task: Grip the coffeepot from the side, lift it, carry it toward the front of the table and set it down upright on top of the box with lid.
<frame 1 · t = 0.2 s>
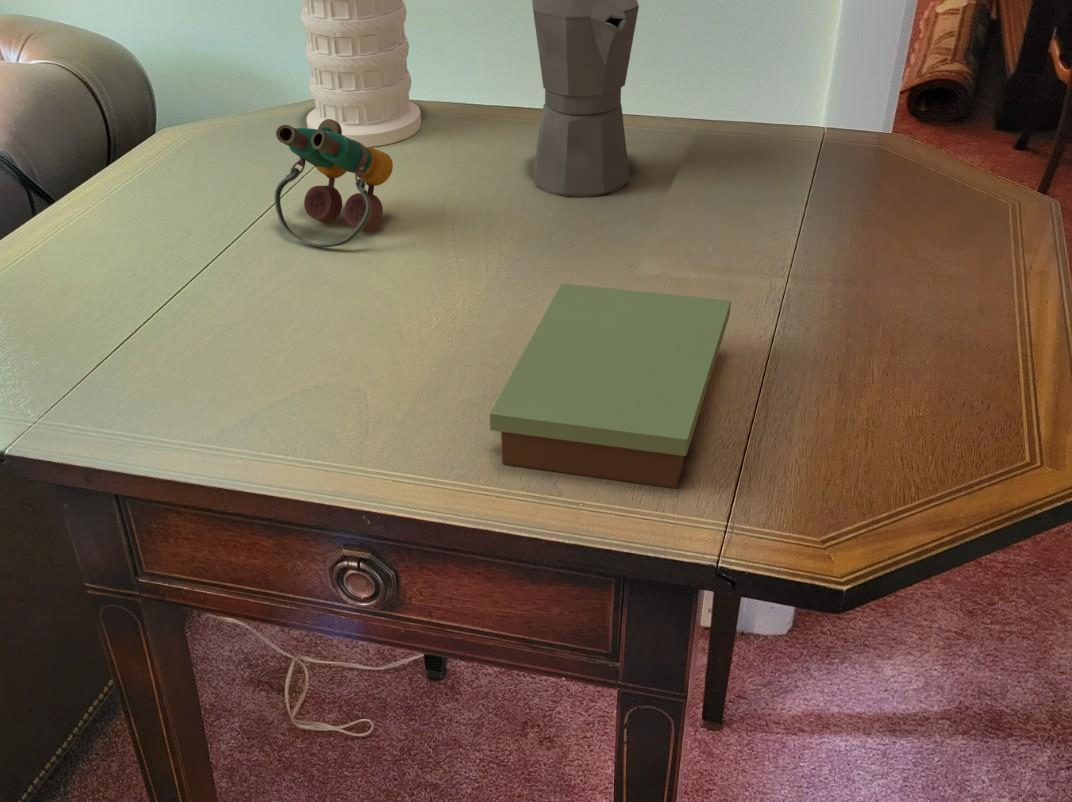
decorative container: (364, 129, 124), on the table
box with lid: (615, 406, 81), on the table
coffeepot: (576, 176, 112), on the table
binoculars: (341, 231, 105), on the table
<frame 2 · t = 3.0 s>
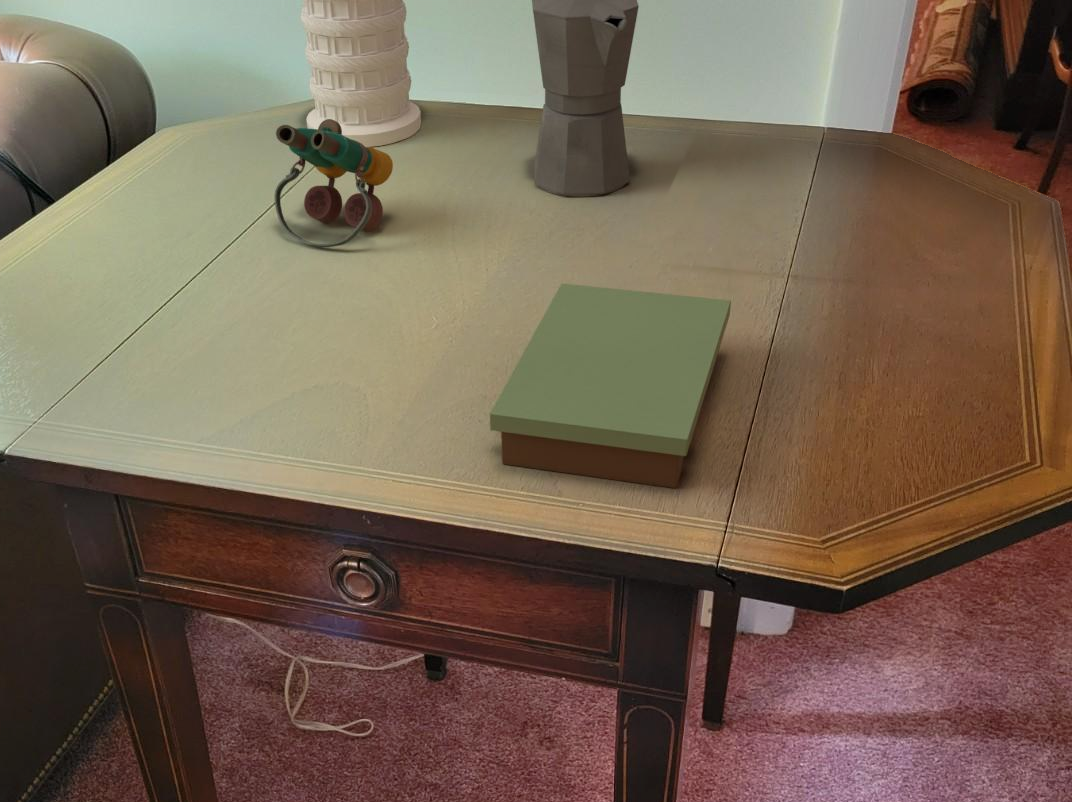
nothing on the table moved.
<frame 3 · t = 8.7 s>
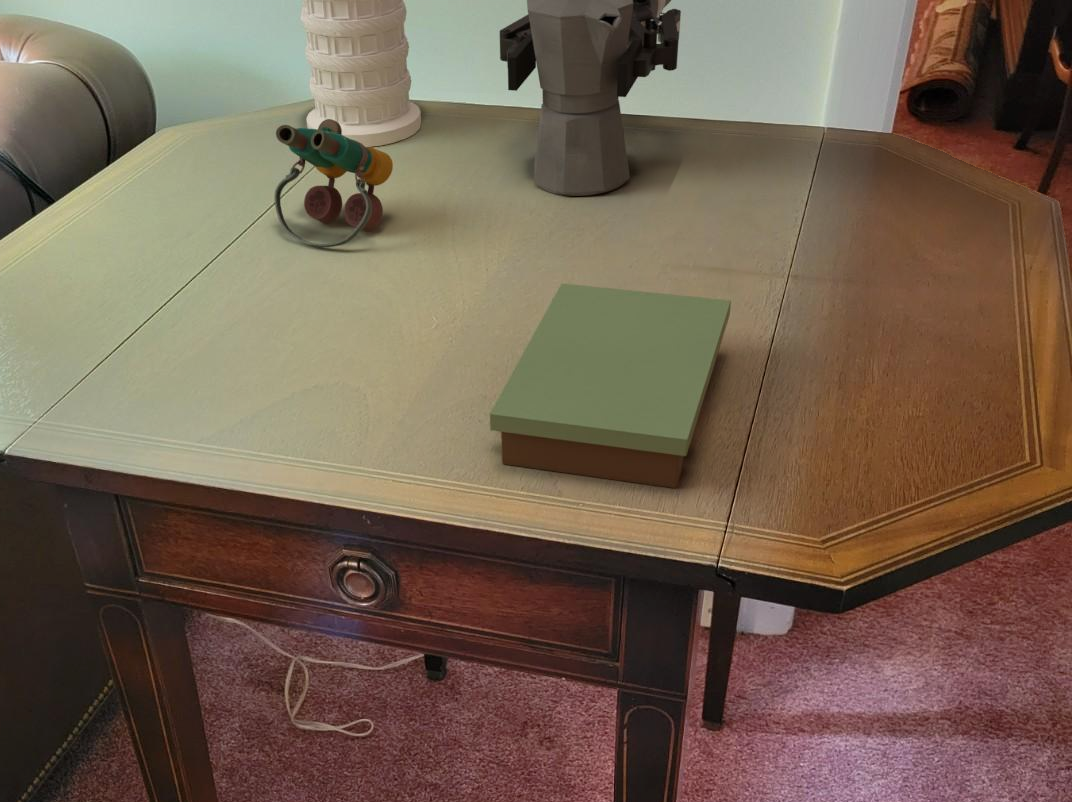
hand: (566, 77, 102), 10 cm above the table, tool horizontal, fingers closed on coffeepot, 9 cm apart
coffeepot: (576, 175, 112), on the table, touching gripper
everything else where it was.
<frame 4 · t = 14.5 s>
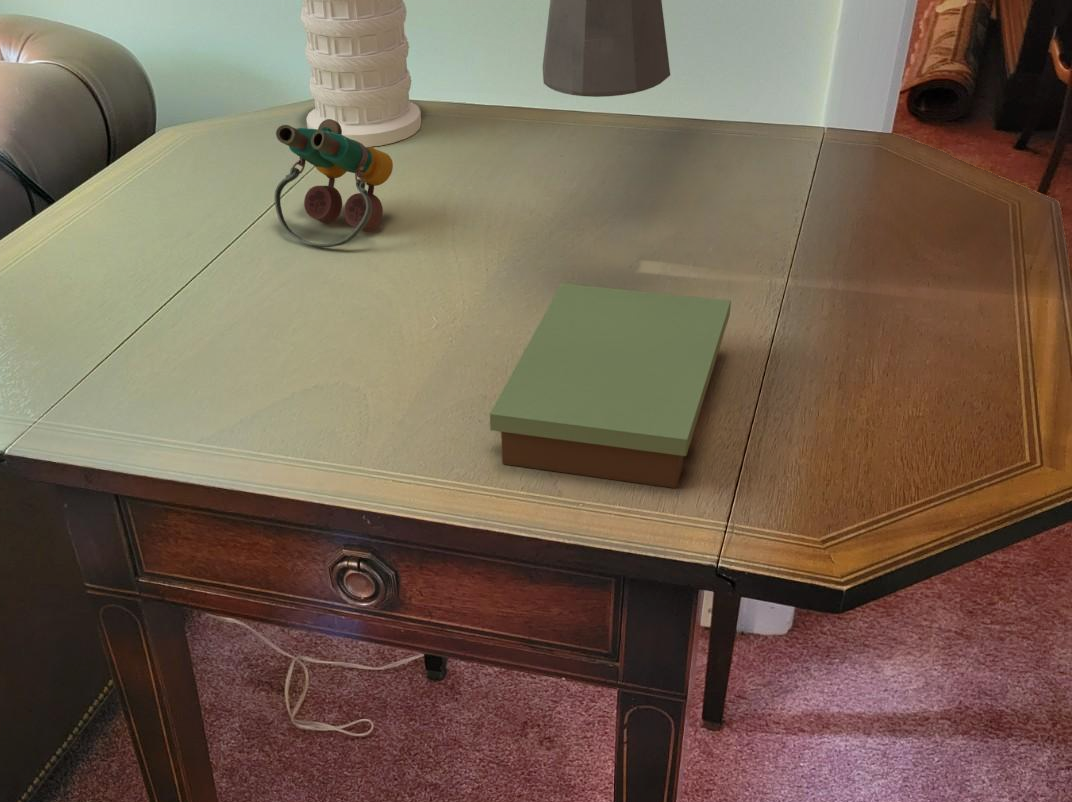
coffeepot: (598, 74, 85), point 16 cm above the table, touching gripper
everything else where it was.
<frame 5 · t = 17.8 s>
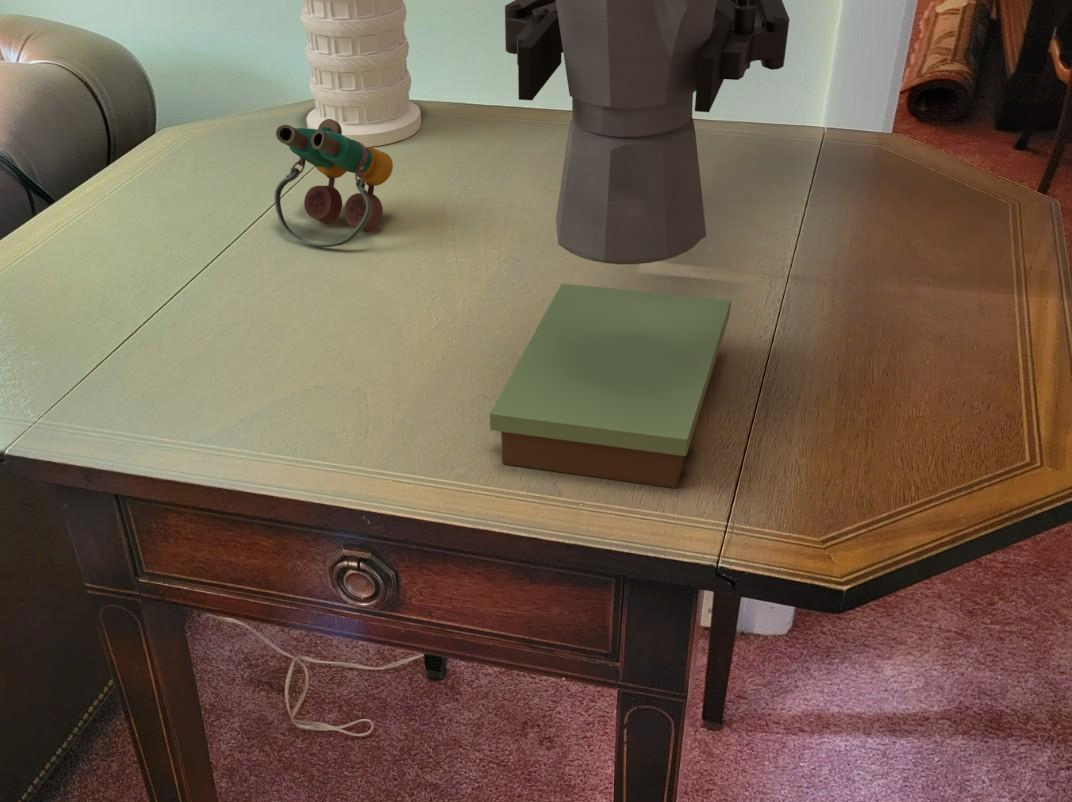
hand: (613, 79, 63), 22 cm above the table, tool horizontal, fingers closed on coffeepot, 9 cm apart
coffeepot: (621, 229, 73), point 12 cm above the table, touching gripper
everything else where it was.
when the fingers open (14 cm above the table, at t = 20.6 s): coffeepot stays where it is, resting on box with lid.
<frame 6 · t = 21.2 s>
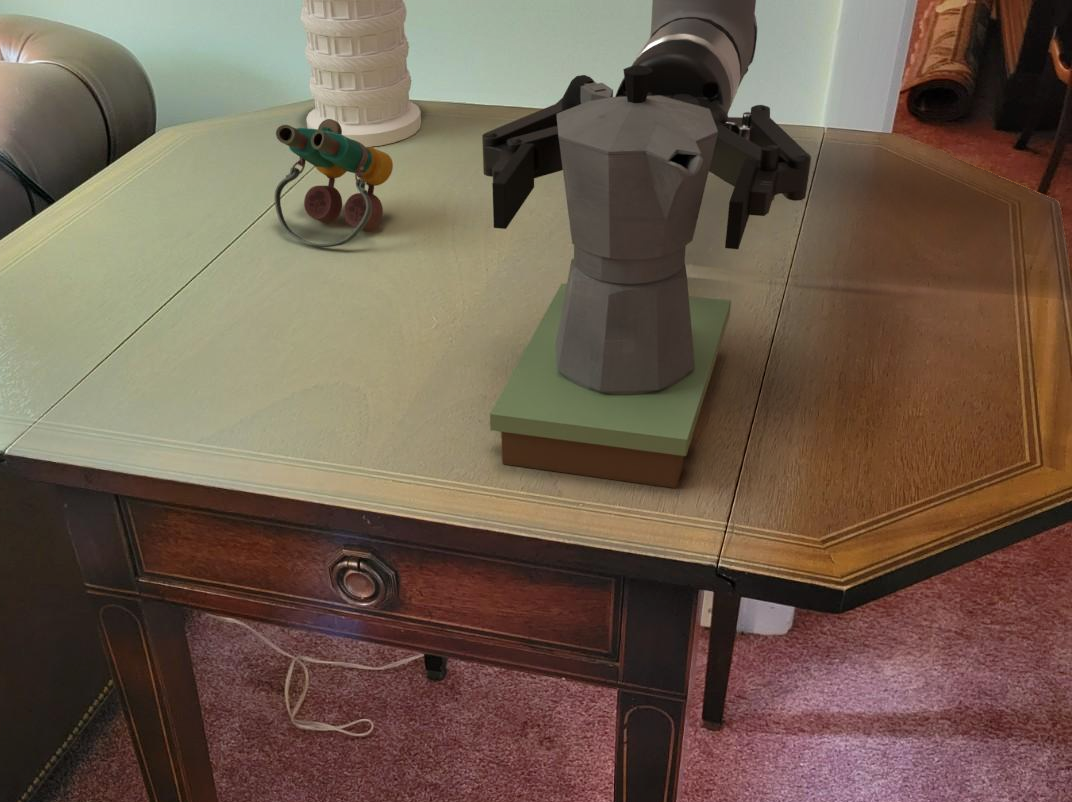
hand: (613, 216, 69), 15 cm above the table, tool horizontal, fingers open, 13 cm apart
coffeepot: (616, 355, 79), point 4 cm above the table, touching box with lid
everything else where it was.
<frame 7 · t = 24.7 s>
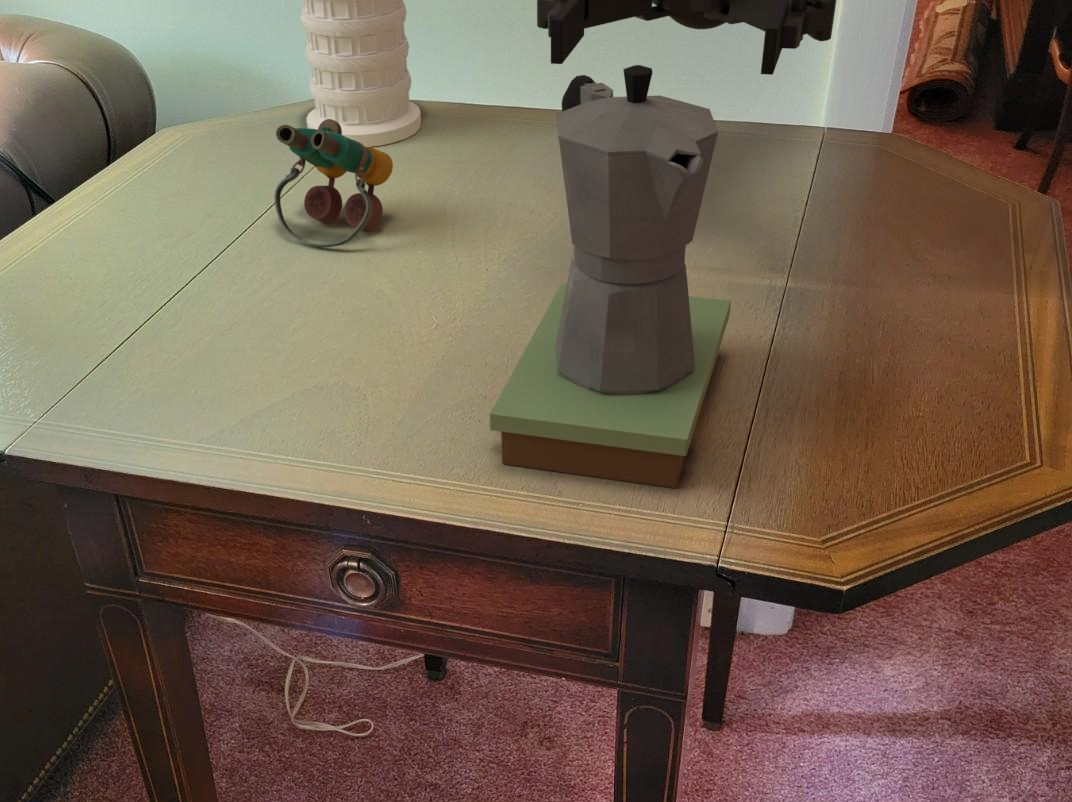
hand: (660, 47, 77), 19 cm above the table, tool horizontal, fingers open, 13 cm apart
nothing on the table moved.
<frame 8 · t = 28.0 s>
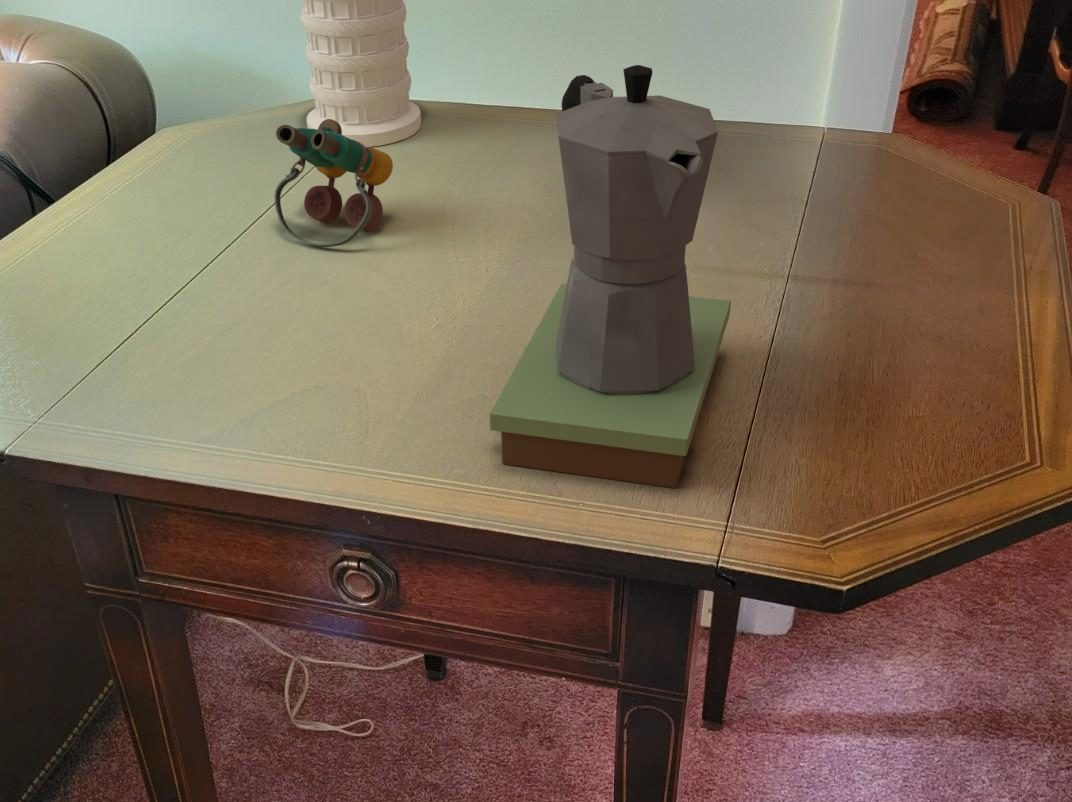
nothing on the table moved.
at the end: coffeepot inside the target area on the box with lid (0.1 cm from its centre), point 3.8 cm above the box with lid's base; coffeepot tilted 0°; the gripper is holding nothing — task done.
